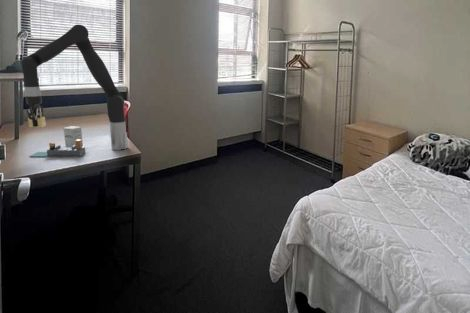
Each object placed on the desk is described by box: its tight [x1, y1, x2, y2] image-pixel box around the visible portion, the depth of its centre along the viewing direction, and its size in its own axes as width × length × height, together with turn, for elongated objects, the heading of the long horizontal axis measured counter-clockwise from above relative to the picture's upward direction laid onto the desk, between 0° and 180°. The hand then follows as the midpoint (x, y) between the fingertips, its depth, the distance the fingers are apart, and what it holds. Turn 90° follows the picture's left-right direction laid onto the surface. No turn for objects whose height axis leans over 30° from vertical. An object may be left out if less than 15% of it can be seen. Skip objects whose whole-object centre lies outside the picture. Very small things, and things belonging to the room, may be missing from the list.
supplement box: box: [63, 125, 84, 147], centre depth 210 cm, size 7×7×13 cm
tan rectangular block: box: [27, 116, 47, 128], centre depth 187 cm, size 7×4×5 cm, turn 94°
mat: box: [29, 151, 49, 158], centre depth 193 cm, size 9×9×1 cm
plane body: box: [46, 138, 86, 158], centre depth 192 cm, size 18×8×9 cm, turn 94°
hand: (37, 125), depth 188 cm, fingers closed on tan rectangular block, 4 cm apart
